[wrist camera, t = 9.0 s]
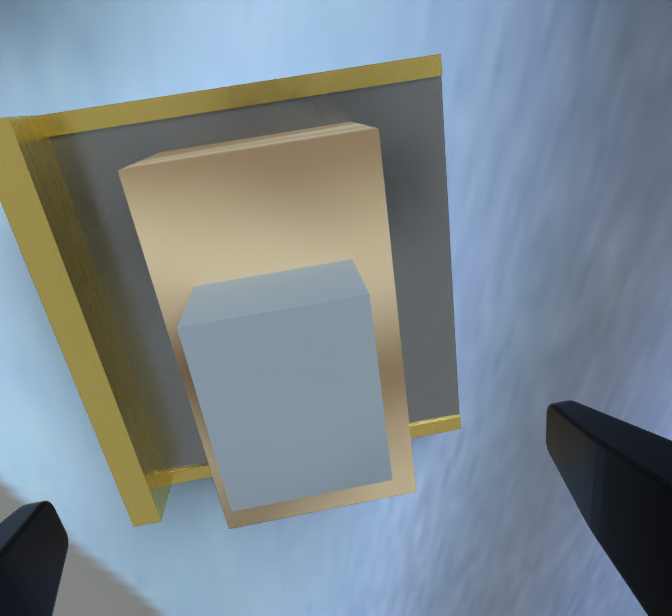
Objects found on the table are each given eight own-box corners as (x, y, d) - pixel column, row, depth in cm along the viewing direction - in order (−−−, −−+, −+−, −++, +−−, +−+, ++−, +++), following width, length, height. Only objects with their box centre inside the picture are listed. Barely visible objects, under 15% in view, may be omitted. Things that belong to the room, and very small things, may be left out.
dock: (414, 61, 18) (463, 47, 13) (438, 389, 23) (477, 459, 19) (49, 117, 17) (-32, 122, 13) (162, 441, 23) (134, 526, 18)
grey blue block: (195, 286, 12) (176, 327, 10) (351, 259, 13) (369, 294, 10) (238, 446, 14) (231, 511, 12) (373, 420, 15) (392, 479, 12)
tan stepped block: (160, 152, 15) (117, 170, 11) (350, 121, 16) (378, 128, 11) (238, 439, 20) (228, 529, 16) (386, 411, 20) (416, 491, 16)
